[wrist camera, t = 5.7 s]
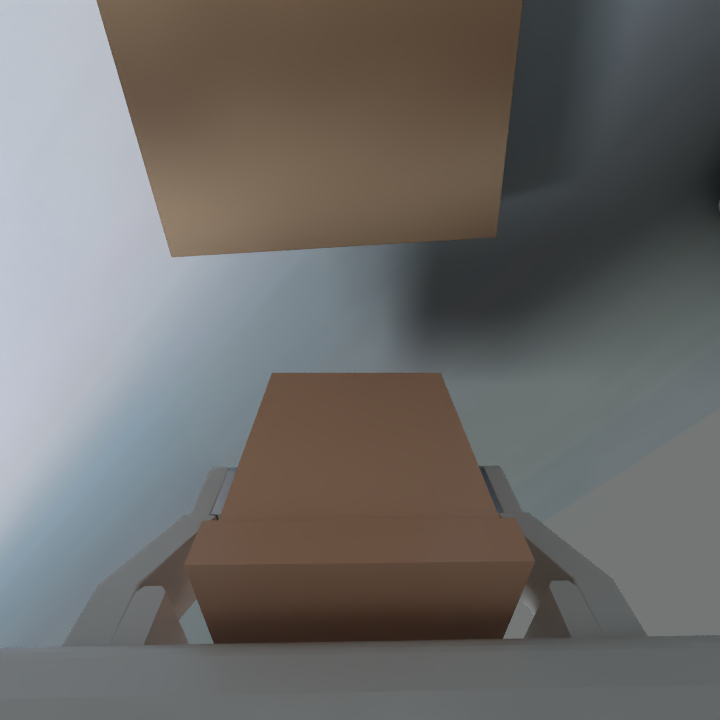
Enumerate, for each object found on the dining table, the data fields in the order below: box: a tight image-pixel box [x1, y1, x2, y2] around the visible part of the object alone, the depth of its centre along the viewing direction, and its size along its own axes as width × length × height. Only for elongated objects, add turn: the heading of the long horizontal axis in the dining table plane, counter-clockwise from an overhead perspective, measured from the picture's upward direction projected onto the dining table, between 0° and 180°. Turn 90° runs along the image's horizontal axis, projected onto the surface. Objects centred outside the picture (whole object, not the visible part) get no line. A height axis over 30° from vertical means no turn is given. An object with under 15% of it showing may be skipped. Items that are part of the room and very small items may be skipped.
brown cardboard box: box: [184, 373, 535, 644], centre depth 10 cm, size 6×6×6 cm
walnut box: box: [97, 0, 523, 257], centre depth 11 cm, size 9×9×6 cm
